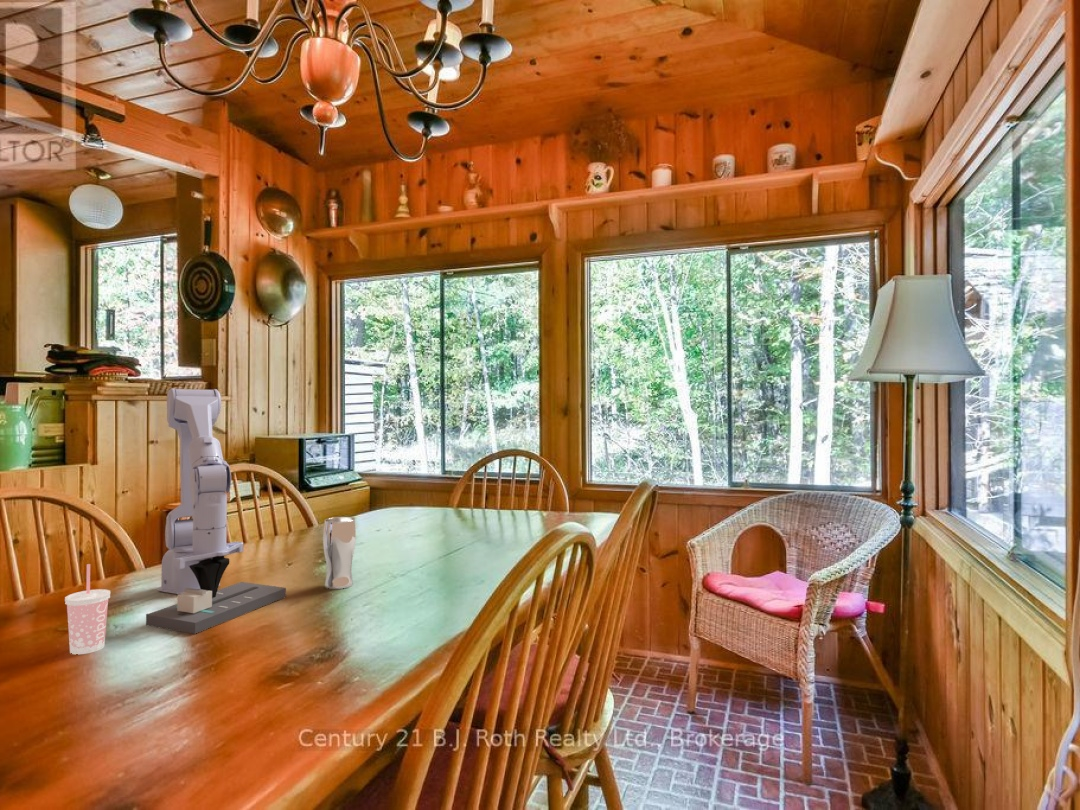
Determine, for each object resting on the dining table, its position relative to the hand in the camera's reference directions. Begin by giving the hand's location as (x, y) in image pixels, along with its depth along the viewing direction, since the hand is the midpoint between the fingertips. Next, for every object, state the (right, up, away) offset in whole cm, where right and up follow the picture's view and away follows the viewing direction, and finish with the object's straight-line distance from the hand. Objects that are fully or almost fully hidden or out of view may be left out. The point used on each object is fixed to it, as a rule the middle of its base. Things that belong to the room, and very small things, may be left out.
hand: (209, 597), depth 116 cm
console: (+1, -3, +3) cm, 4 cm away
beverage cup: (-11, -4, -16) cm, 20 cm away
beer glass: (+19, -4, +20) cm, 27 cm away
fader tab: (-1, -1, -3) cm, 3 cm away
